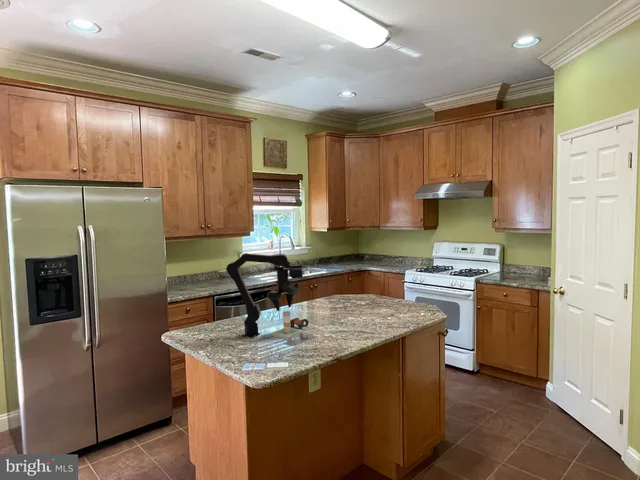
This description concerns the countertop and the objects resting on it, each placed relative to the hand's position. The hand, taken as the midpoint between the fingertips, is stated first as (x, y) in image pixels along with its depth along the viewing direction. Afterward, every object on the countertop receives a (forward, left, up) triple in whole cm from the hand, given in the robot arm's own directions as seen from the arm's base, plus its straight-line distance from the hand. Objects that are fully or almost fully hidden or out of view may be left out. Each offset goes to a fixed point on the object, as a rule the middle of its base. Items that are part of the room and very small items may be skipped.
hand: (284, 309), depth 213 cm
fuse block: (+15, -7, -13) cm, 21 cm away
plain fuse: (+16, -3, -12) cm, 20 cm away
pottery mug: (+3, +7, -13) cm, 15 cm away
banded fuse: (+4, -3, -12) cm, 14 cm away
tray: (+4, -3, -13) cm, 14 cm away
